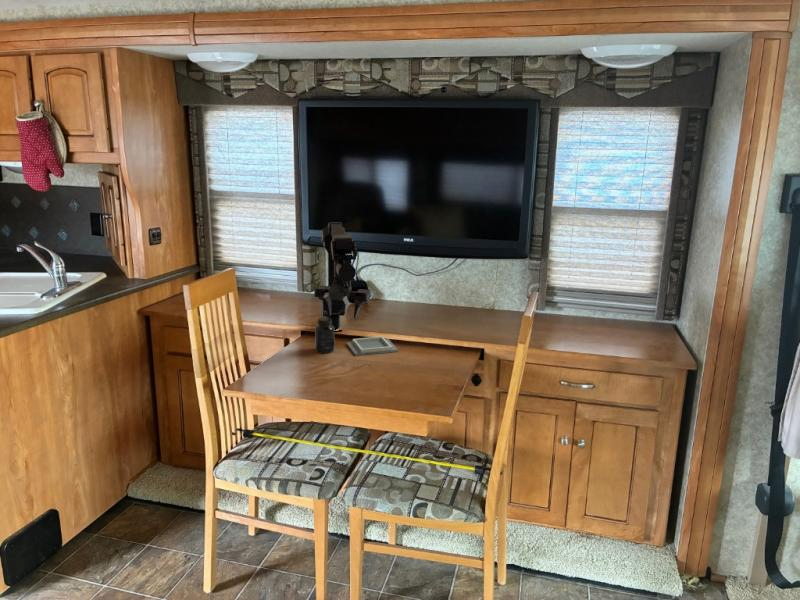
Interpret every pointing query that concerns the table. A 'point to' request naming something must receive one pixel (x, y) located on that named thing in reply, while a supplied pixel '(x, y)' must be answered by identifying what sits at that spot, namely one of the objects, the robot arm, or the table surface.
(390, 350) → the coaster tray
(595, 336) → the table surface
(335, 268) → the robot arm
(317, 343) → the supplement bottle
